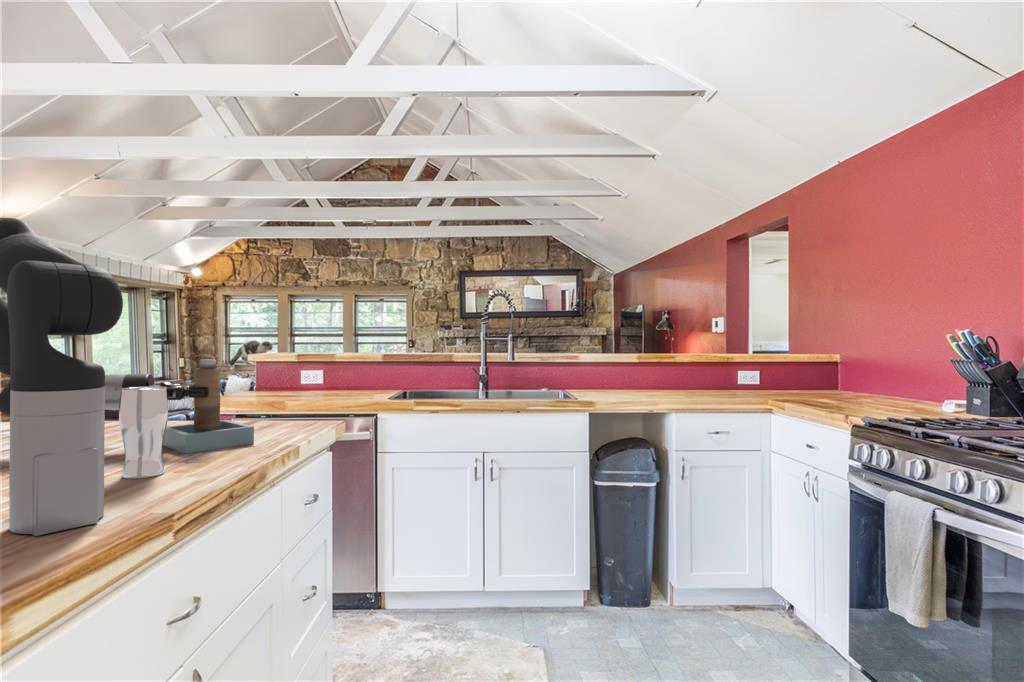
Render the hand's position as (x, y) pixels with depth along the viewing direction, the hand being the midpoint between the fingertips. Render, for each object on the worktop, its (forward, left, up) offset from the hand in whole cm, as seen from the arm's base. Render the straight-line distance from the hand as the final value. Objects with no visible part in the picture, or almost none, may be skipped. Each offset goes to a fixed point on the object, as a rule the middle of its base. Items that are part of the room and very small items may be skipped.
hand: (211, 389), depth 118 cm
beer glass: (-19, +19, -12) cm, 29 cm away
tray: (0, +1, -12) cm, 12 cm away
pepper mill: (0, +1, -11) cm, 11 cm away
